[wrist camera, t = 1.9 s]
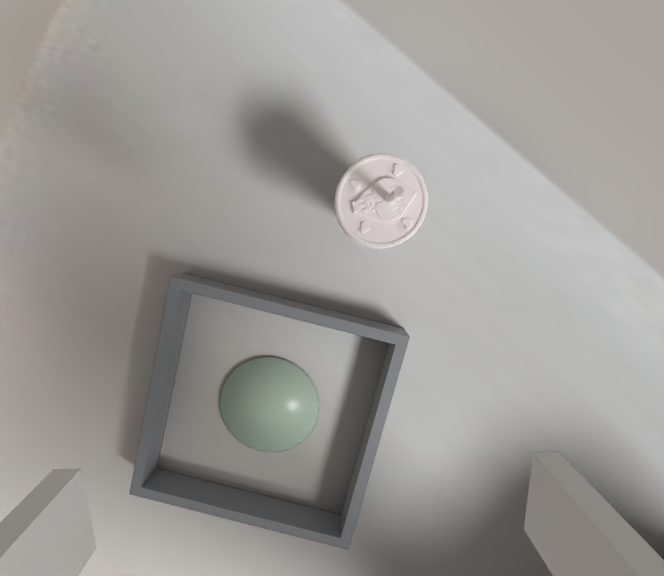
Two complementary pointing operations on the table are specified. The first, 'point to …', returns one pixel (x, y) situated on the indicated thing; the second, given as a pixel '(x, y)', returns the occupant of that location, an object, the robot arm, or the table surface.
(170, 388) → the grey square frame
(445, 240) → the table surface
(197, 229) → the table surface
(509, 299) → the table surface
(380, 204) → the smoothie
